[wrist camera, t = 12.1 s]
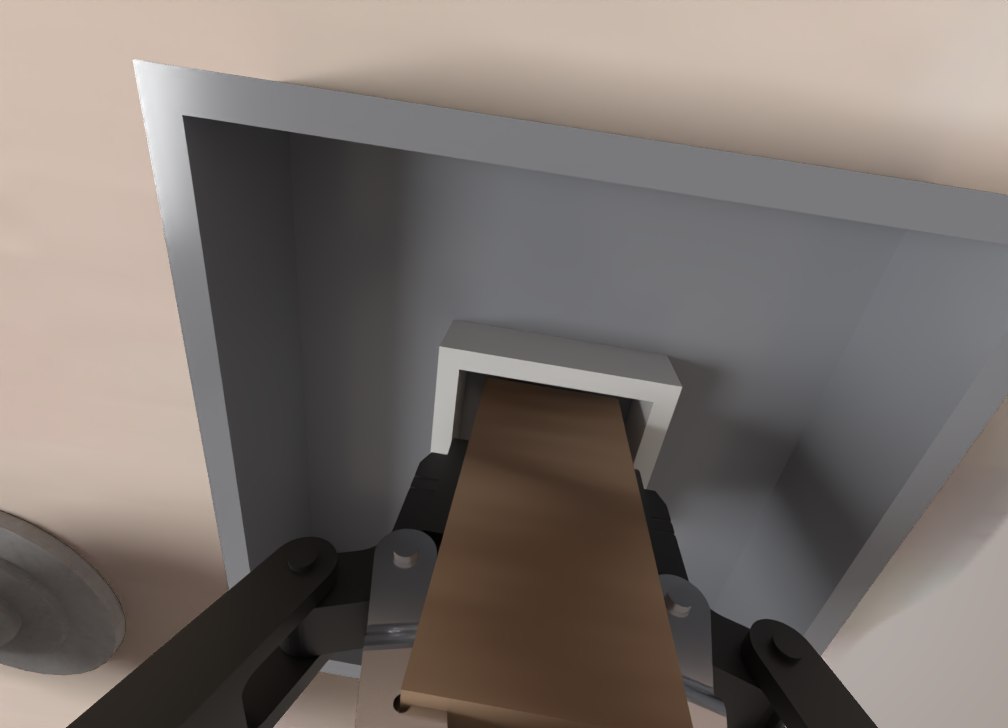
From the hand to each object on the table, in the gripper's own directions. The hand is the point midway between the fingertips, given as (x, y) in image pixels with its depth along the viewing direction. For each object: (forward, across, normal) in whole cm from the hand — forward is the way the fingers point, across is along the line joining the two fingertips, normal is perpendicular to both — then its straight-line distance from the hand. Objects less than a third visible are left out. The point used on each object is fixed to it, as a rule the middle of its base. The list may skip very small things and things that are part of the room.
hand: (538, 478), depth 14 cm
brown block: (+2, 0, 0) cm, 2 cm away
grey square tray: (+4, 0, 0) cm, 4 cm away
